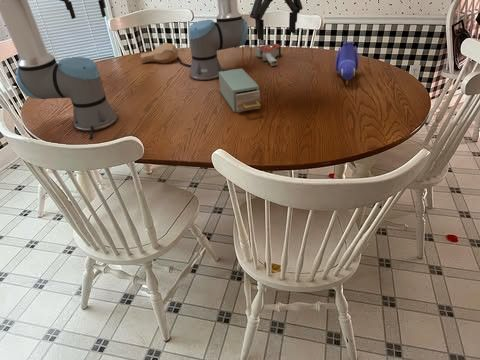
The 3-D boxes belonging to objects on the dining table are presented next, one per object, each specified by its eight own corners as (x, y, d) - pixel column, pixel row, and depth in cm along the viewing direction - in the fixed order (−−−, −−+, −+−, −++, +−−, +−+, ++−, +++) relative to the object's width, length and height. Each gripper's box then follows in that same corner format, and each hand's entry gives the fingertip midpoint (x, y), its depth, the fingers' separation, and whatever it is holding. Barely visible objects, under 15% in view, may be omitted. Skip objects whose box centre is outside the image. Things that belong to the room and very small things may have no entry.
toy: (333, 78, 167) (335, 88, 145) (335, 40, 160) (337, 44, 138) (355, 78, 165) (360, 87, 142) (358, 39, 158) (364, 43, 136)
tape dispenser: (274, 70, 173) (292, 55, 185) (274, 59, 169) (292, 45, 182) (243, 64, 180) (262, 50, 193) (243, 53, 177) (262, 40, 189)
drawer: (264, 113, 130) (264, 96, 126) (241, 118, 128) (240, 100, 124) (244, 89, 149) (243, 73, 145) (223, 92, 148) (222, 77, 144)
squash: (179, 63, 185) (174, 47, 178) (142, 70, 187) (136, 55, 180) (180, 53, 192) (175, 37, 186) (145, 60, 194) (139, 45, 188)
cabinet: (259, 107, 136) (258, 86, 131) (234, 112, 134) (232, 90, 129) (242, 88, 153) (241, 68, 148) (220, 91, 151) (218, 71, 146)
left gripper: (106, -42, 146) (119, 13, 159) (46, -39, 147) (64, 17, 160) (100, -41, 140) (114, 17, 153) (38, -37, 141) (57, 20, 154)
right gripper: (250, -29, 105) (252, 45, 117) (315, -38, 115) (311, 31, 127) (237, -31, 110) (240, 40, 123) (300, -39, 120) (297, 27, 132)
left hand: (89, 17), depth 156 cm, fingers open, 13 cm apart
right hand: (276, 36), depth 125 cm, fingers open, 13 cm apart
